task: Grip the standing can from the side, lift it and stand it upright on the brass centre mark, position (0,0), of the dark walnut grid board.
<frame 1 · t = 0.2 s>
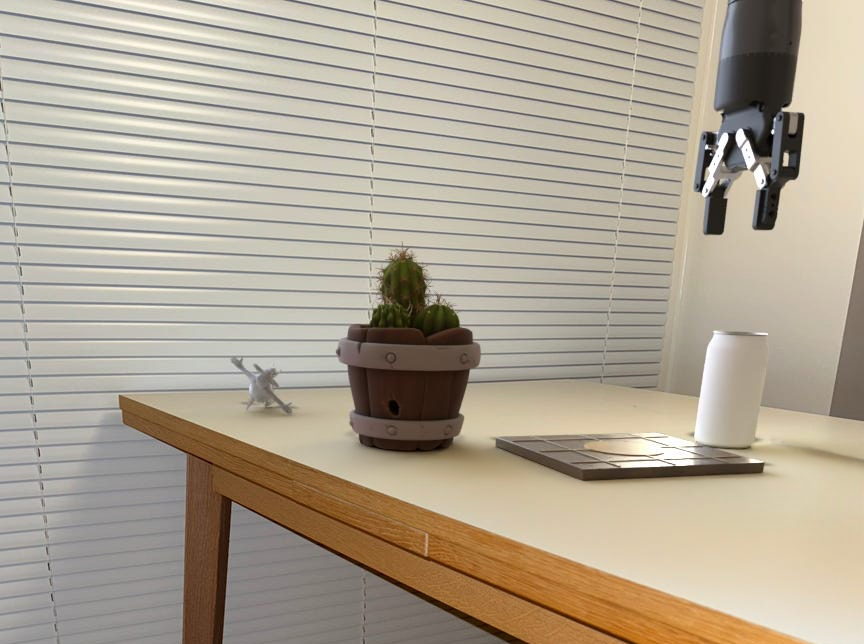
hand: (736, 232, 102), 22 cm above the table, tool pointing down, fingers open, 8 cm apart
board: (622, 458, 98), on the table
spiky grey figurine: (258, 412, 121), on the table
can: (722, 445, 108), on the table
flowerpot: (405, 445, 102), on the table
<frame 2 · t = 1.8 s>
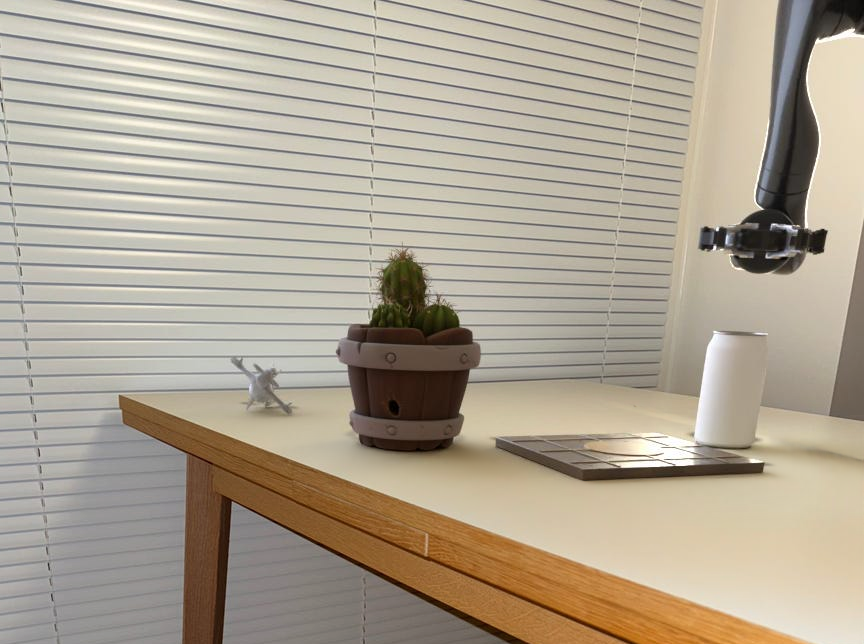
hand: (759, 238, 110), 22 cm above the table, tool horizontal, fingers open, 8 cm apart
nothing on the table moved.
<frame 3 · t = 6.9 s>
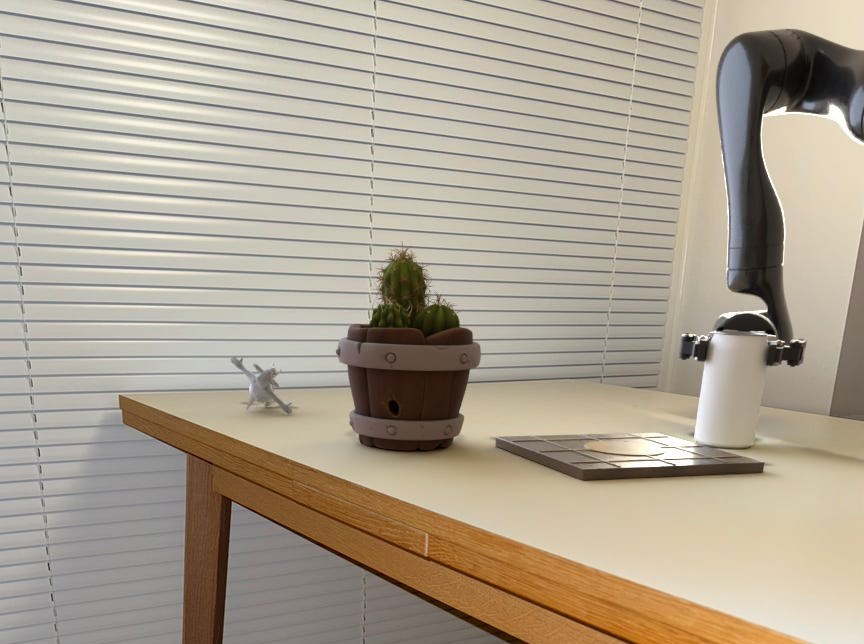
hand: (736, 353, 103), 10 cm above the table, tool horizontal, fingers closed on can, 6 cm apart
can: (722, 445, 108), on the table, touching gripper
everything else where it was.
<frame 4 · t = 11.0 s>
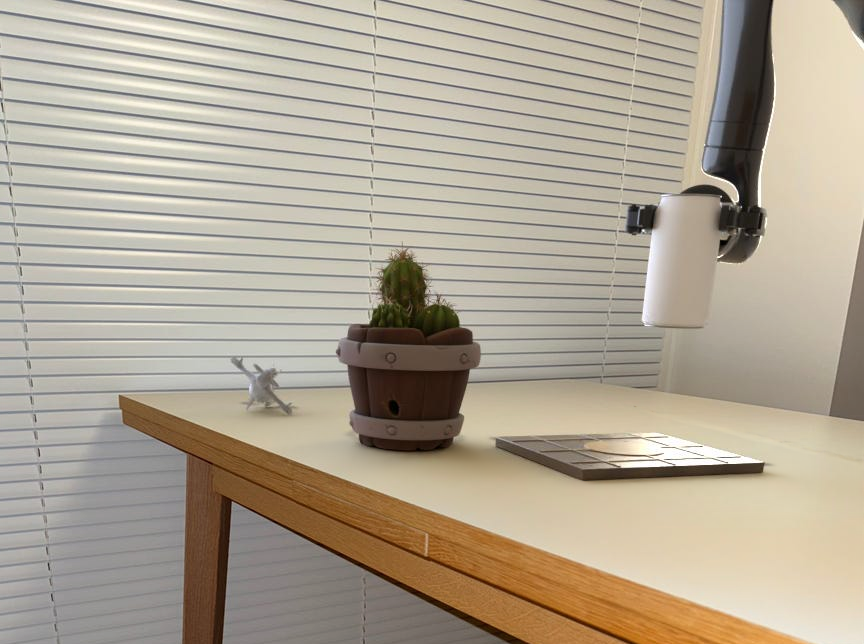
hand: (685, 217, 91), 23 cm above the table, tool horizontal, fingers closed on can, 6 cm apart
can: (673, 328, 97), point 12 cm above the table, touching gripper
everything else where it was.
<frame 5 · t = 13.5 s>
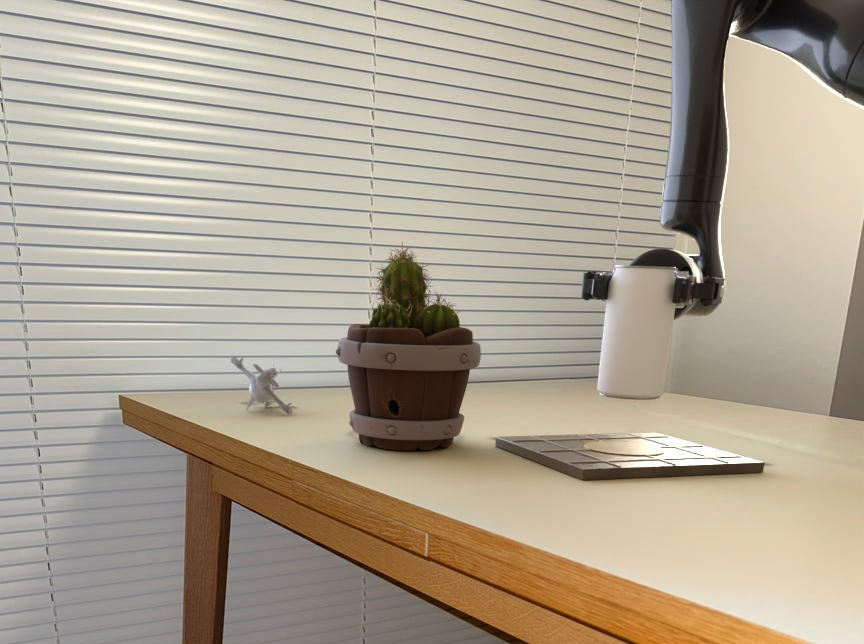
hand: (639, 289, 90), 16 cm above the table, tool horizontal, fingers closed on can, 6 cm apart
can: (629, 397, 96), point 6 cm above the table, touching gripper
everything else where it was.
when the fingers open (11 cm above the table, at t = 15.5 s): can stays where it is, resting on board.
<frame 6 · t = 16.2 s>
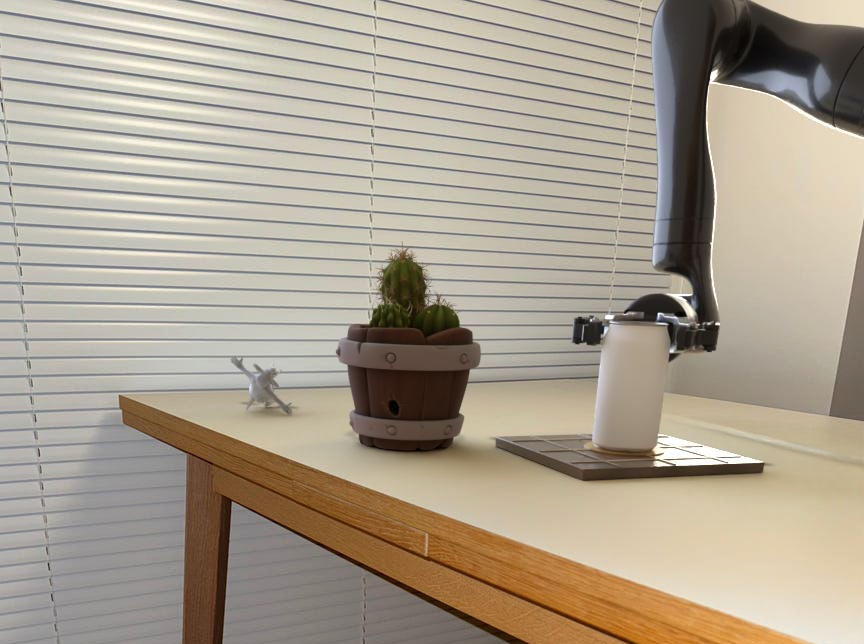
hand: (635, 336, 92), 12 cm above the table, tool horizontal, fingers open, 8 cm apart
can: (623, 449, 97), point 1 cm above the table, touching board
everything else where it was.
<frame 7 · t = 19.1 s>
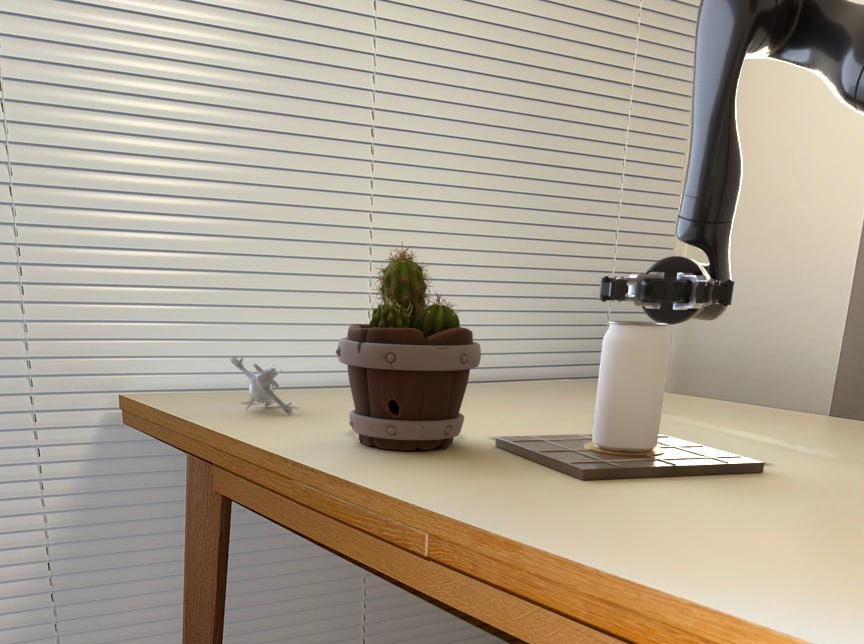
hand: (658, 291, 101), 16 cm above the table, tool horizontal, fingers open, 8 cm apart
nothing on the table moved.
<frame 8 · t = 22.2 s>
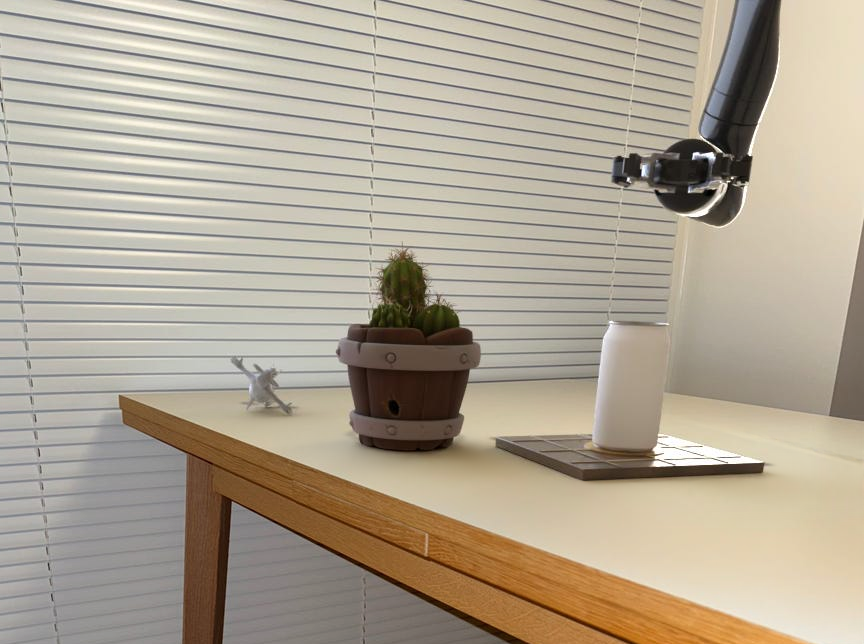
hand: (674, 164, 97), 28 cm above the table, tool horizontal, fingers open, 8 cm apart
nothing on the table moved.
at the end: can 0.2 cm from the target spot, point 0.9 cm above the table; can tilted 0°; the gripper is holding nothing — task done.
